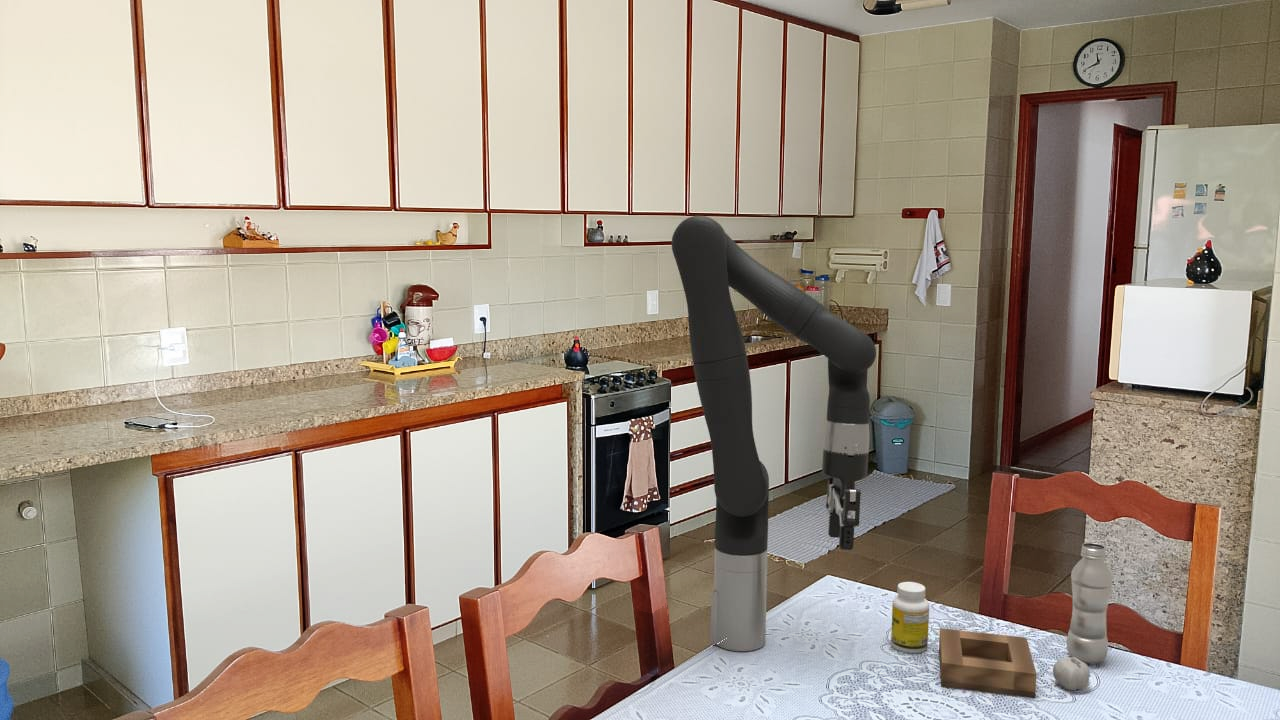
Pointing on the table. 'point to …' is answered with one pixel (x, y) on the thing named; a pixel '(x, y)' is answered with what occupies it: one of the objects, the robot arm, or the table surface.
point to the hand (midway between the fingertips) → (840, 542)
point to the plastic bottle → (1089, 605)
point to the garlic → (1071, 673)
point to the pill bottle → (910, 618)
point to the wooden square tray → (986, 663)
